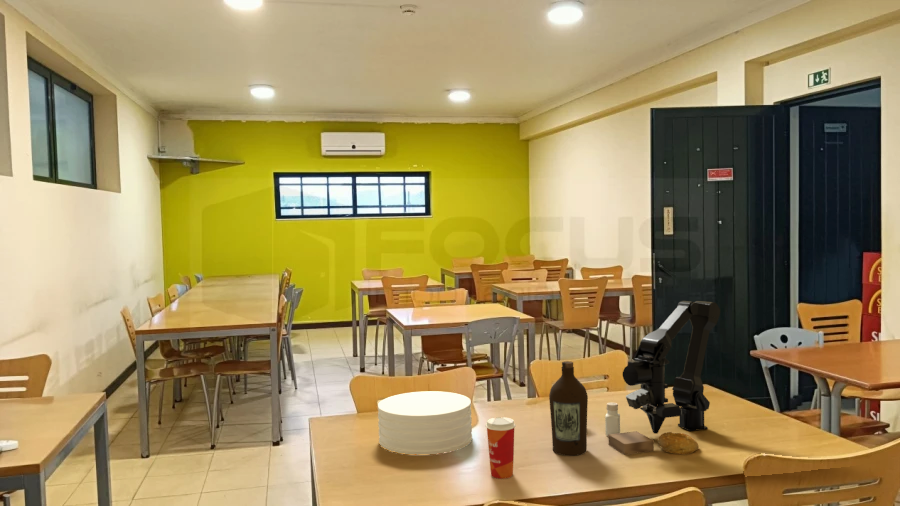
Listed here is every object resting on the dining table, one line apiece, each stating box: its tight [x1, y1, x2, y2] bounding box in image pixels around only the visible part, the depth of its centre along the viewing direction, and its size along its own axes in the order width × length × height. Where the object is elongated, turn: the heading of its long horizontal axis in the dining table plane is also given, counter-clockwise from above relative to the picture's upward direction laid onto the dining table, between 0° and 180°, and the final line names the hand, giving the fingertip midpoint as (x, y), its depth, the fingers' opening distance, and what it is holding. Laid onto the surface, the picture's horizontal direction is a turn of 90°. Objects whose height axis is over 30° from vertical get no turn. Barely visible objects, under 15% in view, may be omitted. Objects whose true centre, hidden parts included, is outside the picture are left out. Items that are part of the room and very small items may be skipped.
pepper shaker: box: [604, 402, 621, 437], centre depth 201 cm, size 4×4×10 cm
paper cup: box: [485, 416, 516, 480], centre depth 172 cm, size 8×8×14 cm
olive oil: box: [548, 360, 589, 457], centre depth 189 cm, size 11×11×25 cm
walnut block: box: [607, 430, 655, 456], centre depth 190 cm, size 9×9×3 cm
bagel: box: [657, 431, 700, 455], centre depth 188 cm, size 10×11×5 cm
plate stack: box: [377, 390, 473, 456], centre depth 203 cm, size 28×28×12 cm
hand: (655, 433), depth 197 cm, fingers closed
